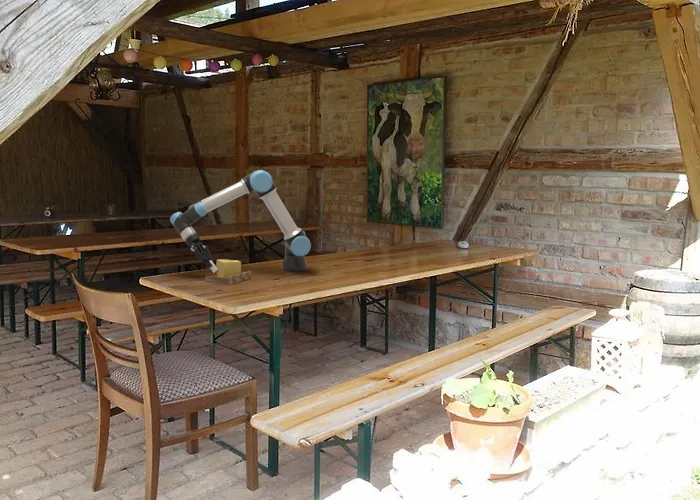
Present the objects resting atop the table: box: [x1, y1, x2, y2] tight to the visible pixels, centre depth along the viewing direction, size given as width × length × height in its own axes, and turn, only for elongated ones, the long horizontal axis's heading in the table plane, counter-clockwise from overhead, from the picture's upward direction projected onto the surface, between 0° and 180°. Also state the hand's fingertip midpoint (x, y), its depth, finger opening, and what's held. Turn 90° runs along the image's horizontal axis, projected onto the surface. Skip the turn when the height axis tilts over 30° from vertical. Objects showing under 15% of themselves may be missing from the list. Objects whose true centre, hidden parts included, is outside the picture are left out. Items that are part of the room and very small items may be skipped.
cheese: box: [215, 259, 242, 278], centre depth 325 cm, size 10×11×10 cm
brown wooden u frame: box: [205, 270, 252, 286], centre depth 324 cm, size 20×15×4 cm
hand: (215, 271), depth 324 cm, fingers closed
